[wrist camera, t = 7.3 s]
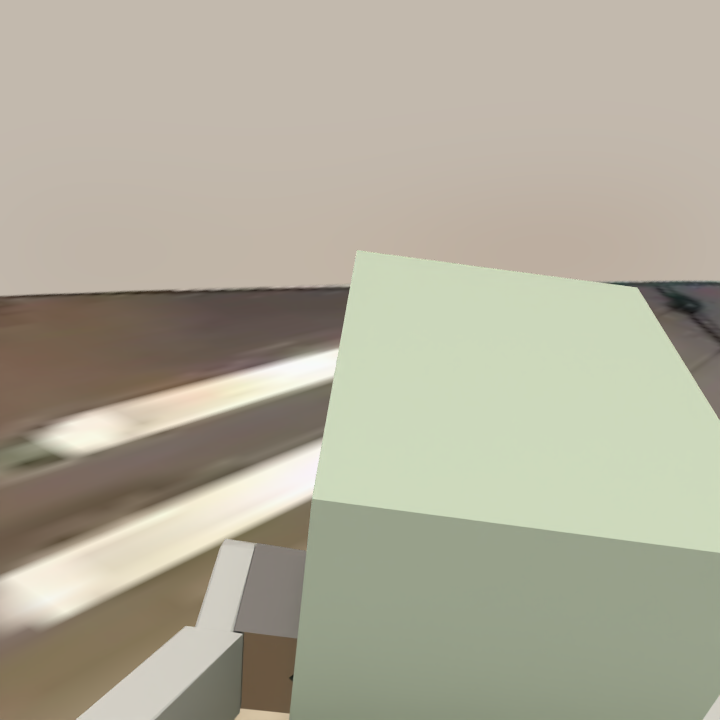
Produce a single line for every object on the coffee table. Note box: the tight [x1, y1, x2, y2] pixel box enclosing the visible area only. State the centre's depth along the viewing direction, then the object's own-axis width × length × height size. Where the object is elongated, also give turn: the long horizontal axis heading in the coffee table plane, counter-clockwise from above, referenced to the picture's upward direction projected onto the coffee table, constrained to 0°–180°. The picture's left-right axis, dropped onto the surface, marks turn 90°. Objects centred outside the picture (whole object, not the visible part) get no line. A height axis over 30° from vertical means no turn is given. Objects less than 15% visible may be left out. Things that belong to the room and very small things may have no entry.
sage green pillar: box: [289, 250, 720, 720], centre depth 11 cm, size 4×5×12 cm
